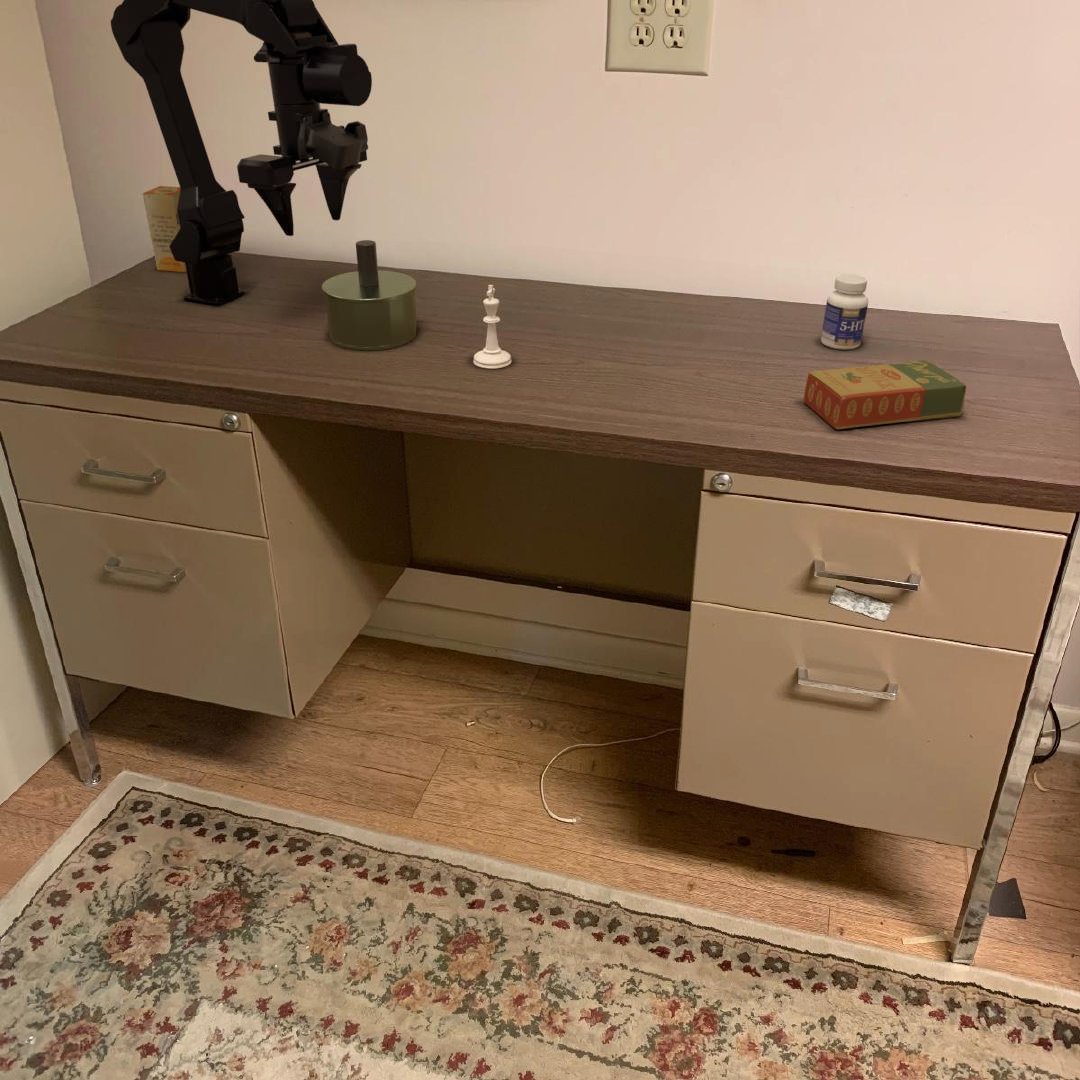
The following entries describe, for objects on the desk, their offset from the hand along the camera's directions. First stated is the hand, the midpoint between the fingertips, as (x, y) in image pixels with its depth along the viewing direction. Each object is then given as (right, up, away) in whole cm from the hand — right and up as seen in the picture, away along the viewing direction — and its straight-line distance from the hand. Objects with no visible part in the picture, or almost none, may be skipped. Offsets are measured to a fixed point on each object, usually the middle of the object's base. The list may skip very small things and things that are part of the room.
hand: (313, 227), depth 137 cm
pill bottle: (+71, -15, +1) cm, 72 cm away
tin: (+8, -14, +3) cm, 16 cm away
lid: (+8, -8, 0) cm, 11 cm away
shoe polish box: (-28, +2, +29) cm, 41 cm away
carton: (+70, -27, -17) cm, 77 cm away
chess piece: (+24, -19, -5) cm, 31 cm away
